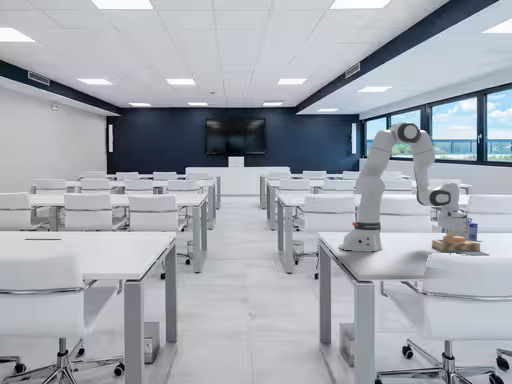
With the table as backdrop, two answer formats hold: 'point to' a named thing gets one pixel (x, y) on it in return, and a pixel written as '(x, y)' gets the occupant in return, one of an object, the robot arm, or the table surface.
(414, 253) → the table surface
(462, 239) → the block
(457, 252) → the mat
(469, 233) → the ink cartridge box
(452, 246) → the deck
